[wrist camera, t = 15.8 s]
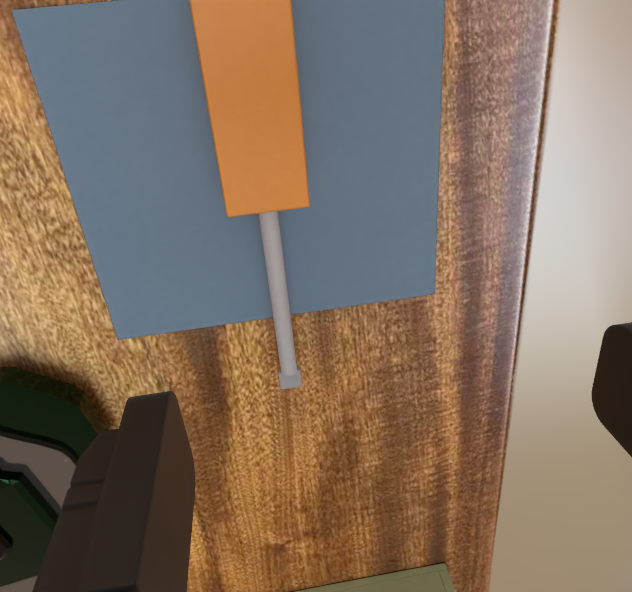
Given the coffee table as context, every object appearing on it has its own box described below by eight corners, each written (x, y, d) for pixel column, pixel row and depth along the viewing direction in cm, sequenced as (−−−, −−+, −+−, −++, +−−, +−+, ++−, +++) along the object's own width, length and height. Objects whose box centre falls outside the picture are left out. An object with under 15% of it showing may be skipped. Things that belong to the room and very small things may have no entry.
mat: (443, -30, 23) (446, -30, 23) (432, 291, 31) (435, 294, 31) (14, 10, 21) (11, 10, 21) (118, 336, 29) (117, 340, 29)
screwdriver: (258, 371, 31) (261, 414, 28) (190, -24, 21) (184, -29, 18) (317, 361, 32) (328, 403, 28) (279, -31, 22) (287, -38, 18)
